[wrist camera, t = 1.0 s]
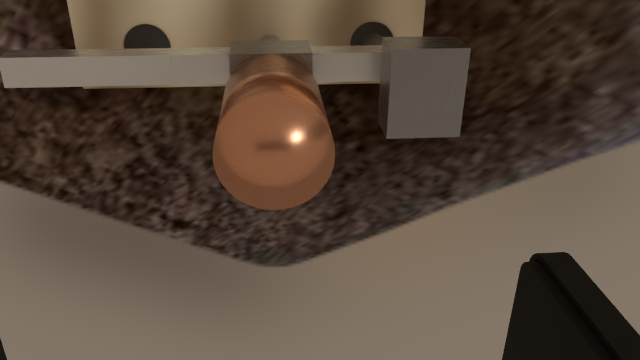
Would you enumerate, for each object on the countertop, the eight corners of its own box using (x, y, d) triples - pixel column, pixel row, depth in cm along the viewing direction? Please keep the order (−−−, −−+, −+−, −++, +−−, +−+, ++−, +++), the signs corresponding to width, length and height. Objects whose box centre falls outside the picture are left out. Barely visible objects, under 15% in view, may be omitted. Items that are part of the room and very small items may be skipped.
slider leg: (301, -4, 32) (336, 97, 16) (301, 60, 33) (334, 207, 18) (236, -4, 31) (207, 99, 16) (239, 61, 33) (217, 212, 17)
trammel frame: (409, -6, 33) (483, 48, 21) (404, 56, 34) (471, 136, 23) (75, -4, 31) (-30, 55, 20) (87, 61, 33) (-5, 149, 22)
